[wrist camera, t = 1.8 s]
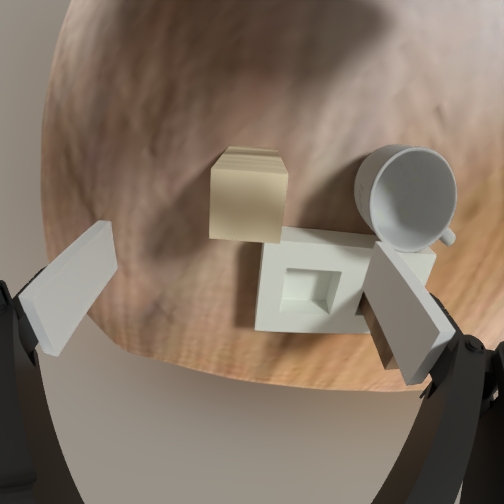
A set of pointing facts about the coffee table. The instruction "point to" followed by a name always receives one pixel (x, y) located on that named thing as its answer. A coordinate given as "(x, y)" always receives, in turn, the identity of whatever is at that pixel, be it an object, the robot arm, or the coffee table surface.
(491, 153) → the coffee table surface
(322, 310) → the bore block
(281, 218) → the pin
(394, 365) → the walnut pin
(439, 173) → the teacup
